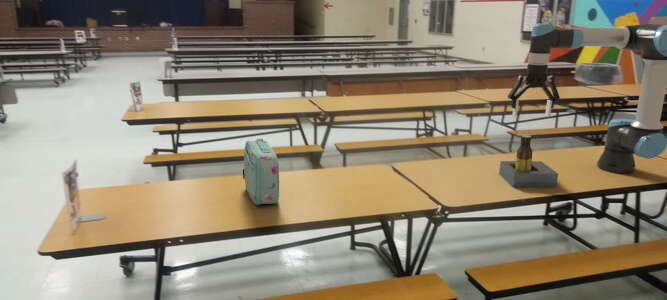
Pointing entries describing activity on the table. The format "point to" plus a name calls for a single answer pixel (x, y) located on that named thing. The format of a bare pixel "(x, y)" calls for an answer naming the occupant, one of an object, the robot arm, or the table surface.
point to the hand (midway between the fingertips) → (530, 116)
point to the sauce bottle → (524, 154)
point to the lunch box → (261, 172)
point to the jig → (529, 175)
